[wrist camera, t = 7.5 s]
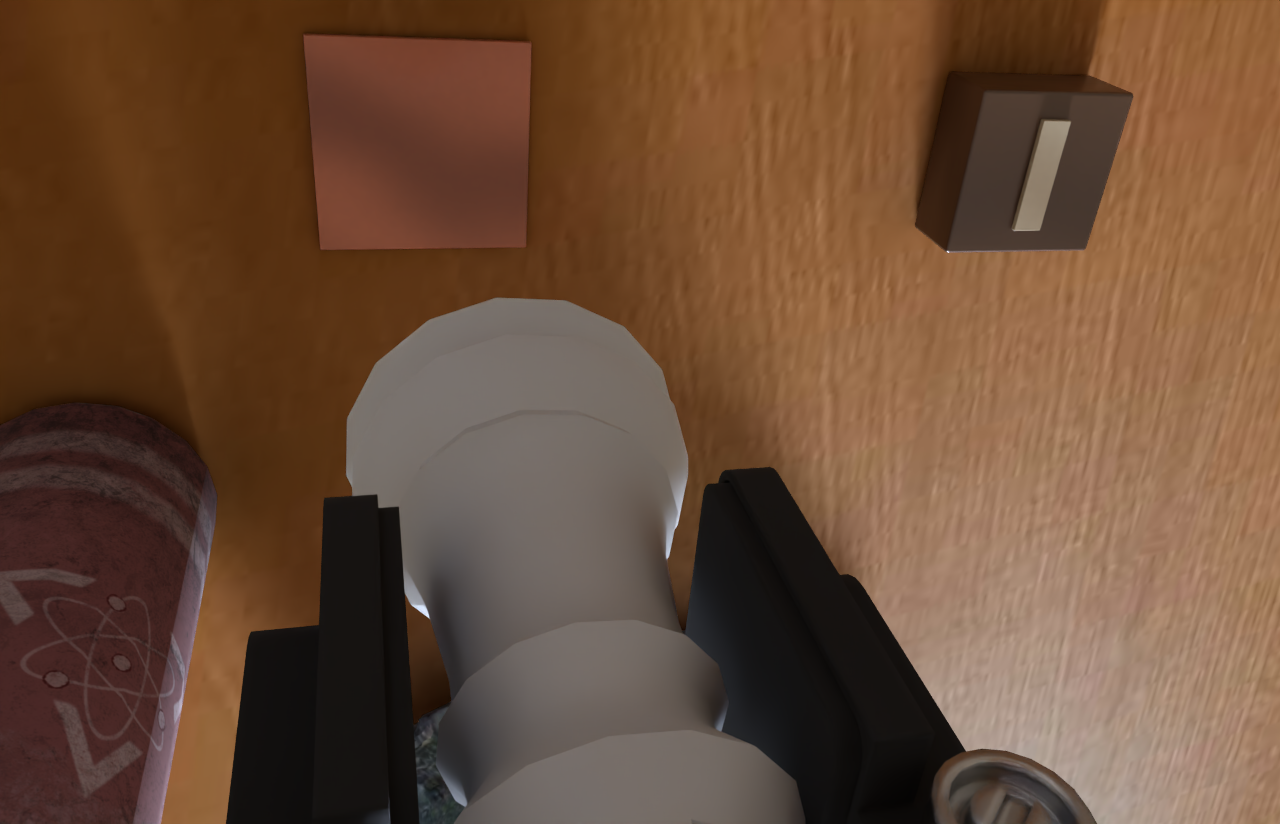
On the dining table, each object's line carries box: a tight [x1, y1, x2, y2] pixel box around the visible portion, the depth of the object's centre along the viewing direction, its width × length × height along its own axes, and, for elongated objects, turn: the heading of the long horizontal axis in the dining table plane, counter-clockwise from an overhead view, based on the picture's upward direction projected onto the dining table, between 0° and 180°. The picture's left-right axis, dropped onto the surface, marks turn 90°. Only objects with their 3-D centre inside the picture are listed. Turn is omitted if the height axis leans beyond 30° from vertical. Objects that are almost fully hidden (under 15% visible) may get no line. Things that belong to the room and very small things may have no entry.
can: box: [0, 403, 217, 824], centre depth 23 cm, size 6×6×14 cm
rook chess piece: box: [346, 298, 806, 824], centre depth 11 cm, size 4×4×8 cm
